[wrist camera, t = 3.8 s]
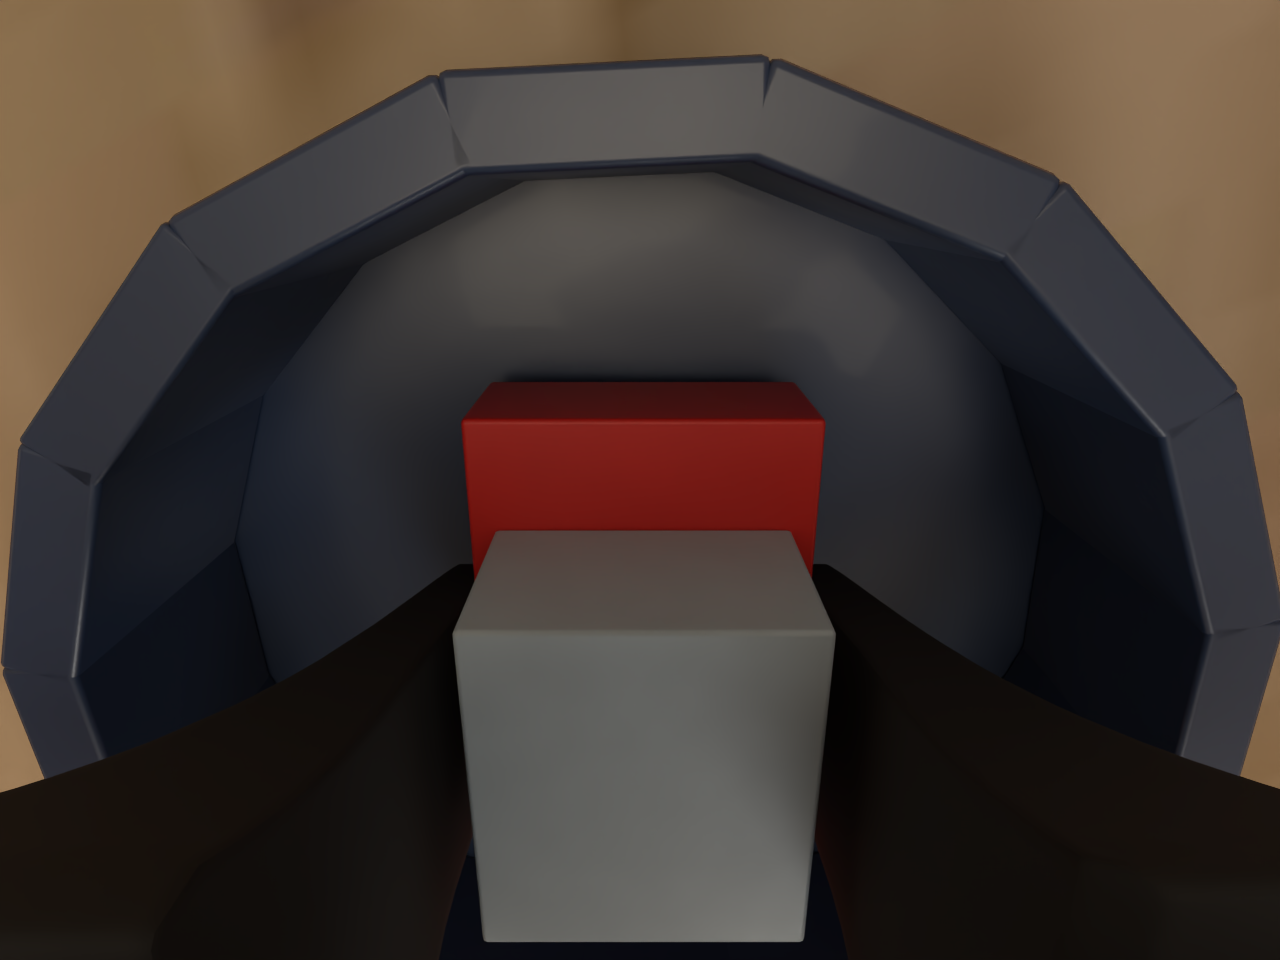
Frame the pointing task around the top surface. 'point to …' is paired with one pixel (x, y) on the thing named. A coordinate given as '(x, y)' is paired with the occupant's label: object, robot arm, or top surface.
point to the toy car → (643, 660)
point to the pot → (638, 352)
